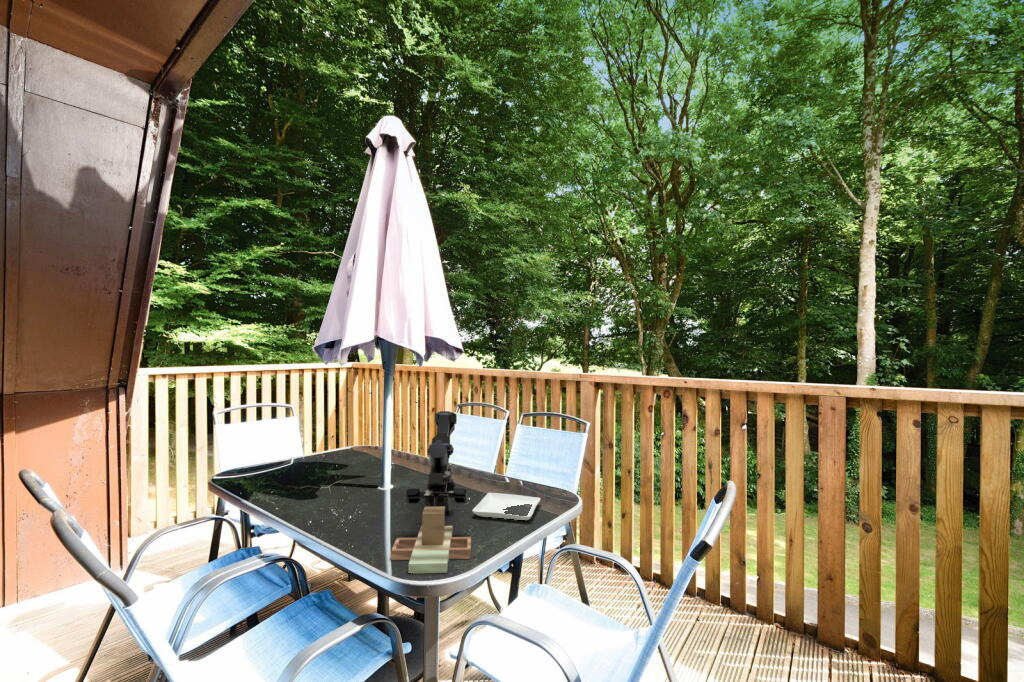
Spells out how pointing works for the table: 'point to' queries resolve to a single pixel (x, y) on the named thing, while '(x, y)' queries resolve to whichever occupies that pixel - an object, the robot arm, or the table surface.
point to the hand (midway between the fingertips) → (434, 521)
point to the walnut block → (433, 525)
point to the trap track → (431, 552)
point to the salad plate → (504, 505)
